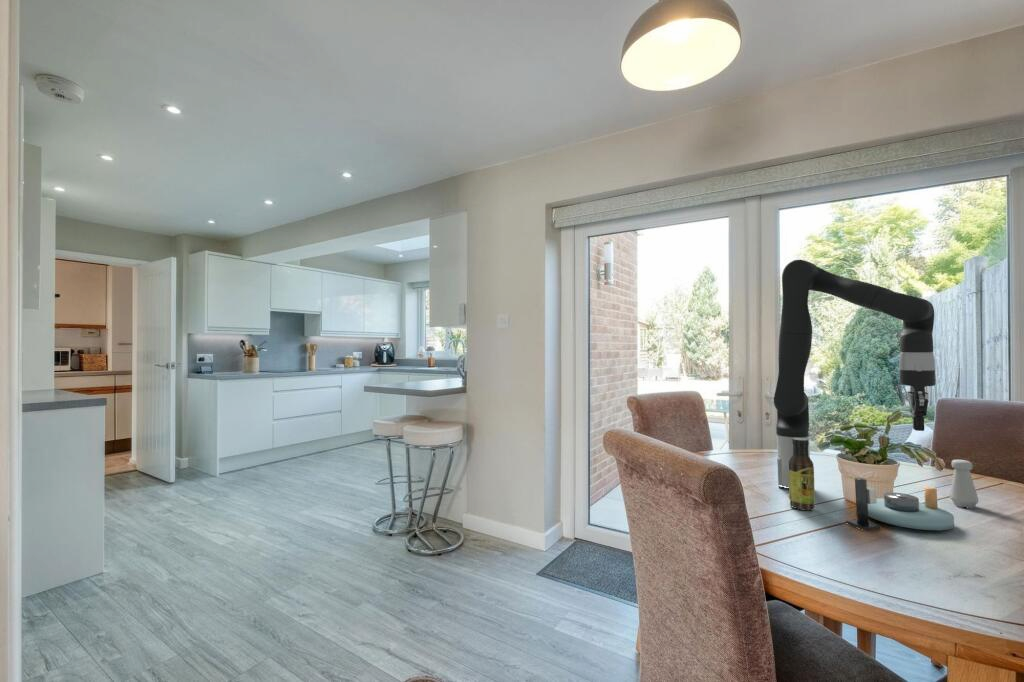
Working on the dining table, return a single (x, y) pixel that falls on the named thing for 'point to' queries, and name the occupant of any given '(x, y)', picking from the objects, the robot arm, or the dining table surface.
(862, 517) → the post
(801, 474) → the sauce bottle
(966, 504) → the salt shaker
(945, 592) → the dining table surface
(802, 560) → the dining table surface
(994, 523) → the dining table surface
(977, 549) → the dining table surface
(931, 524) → the turntable
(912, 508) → the cover
